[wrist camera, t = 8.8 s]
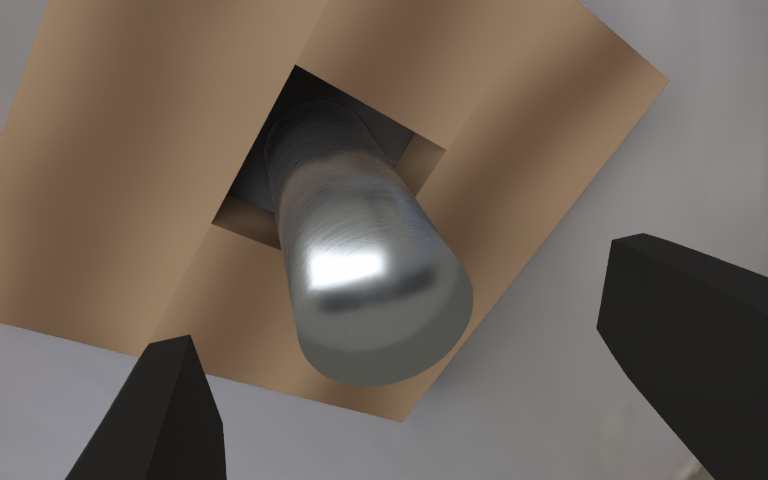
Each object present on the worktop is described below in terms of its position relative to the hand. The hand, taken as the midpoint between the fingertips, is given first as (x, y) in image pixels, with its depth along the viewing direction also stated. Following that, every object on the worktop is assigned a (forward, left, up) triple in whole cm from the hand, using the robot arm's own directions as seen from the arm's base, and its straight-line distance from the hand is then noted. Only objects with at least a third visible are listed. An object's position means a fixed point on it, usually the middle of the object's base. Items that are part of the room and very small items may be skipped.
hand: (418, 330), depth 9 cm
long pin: (0, +1, -10) cm, 10 cm away
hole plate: (0, +1, -10) cm, 10 cm away
